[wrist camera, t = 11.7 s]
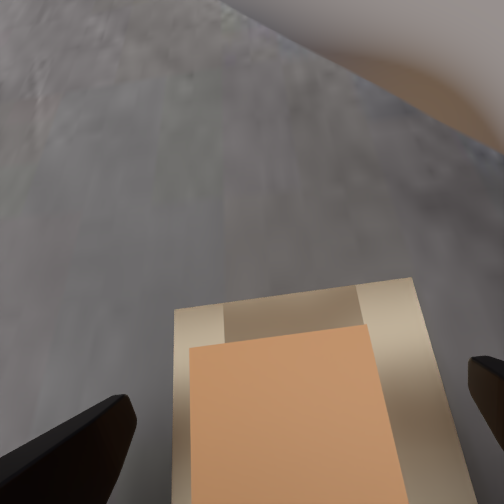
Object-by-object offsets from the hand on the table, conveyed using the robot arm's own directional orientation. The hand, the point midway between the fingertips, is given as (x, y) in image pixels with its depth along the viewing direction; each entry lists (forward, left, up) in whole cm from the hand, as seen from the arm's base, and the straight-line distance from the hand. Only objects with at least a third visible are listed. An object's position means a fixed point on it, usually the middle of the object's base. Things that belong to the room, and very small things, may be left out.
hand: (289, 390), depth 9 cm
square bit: (-1, 0, -8) cm, 8 cm away
